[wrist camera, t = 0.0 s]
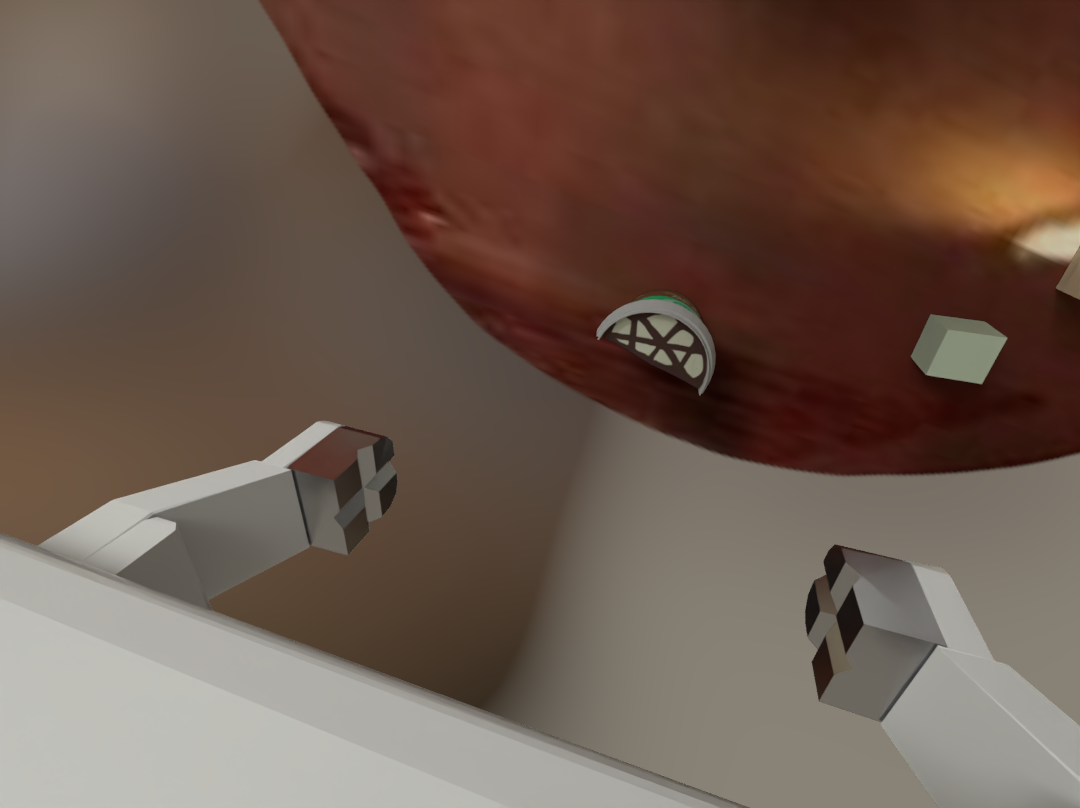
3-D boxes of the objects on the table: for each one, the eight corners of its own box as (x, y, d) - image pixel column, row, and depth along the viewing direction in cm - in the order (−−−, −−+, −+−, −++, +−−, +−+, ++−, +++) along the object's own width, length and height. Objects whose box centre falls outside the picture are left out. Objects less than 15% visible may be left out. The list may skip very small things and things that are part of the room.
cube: (930, 314, 48) (948, 329, 44) (984, 321, 47) (1007, 338, 43) (910, 356, 50) (925, 375, 47) (961, 364, 49) (981, 384, 45)
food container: (739, 312, 53) (743, 347, 45) (707, 358, 57) (704, 398, 48) (637, 257, 54) (622, 281, 45) (611, 306, 57) (592, 337, 49)
